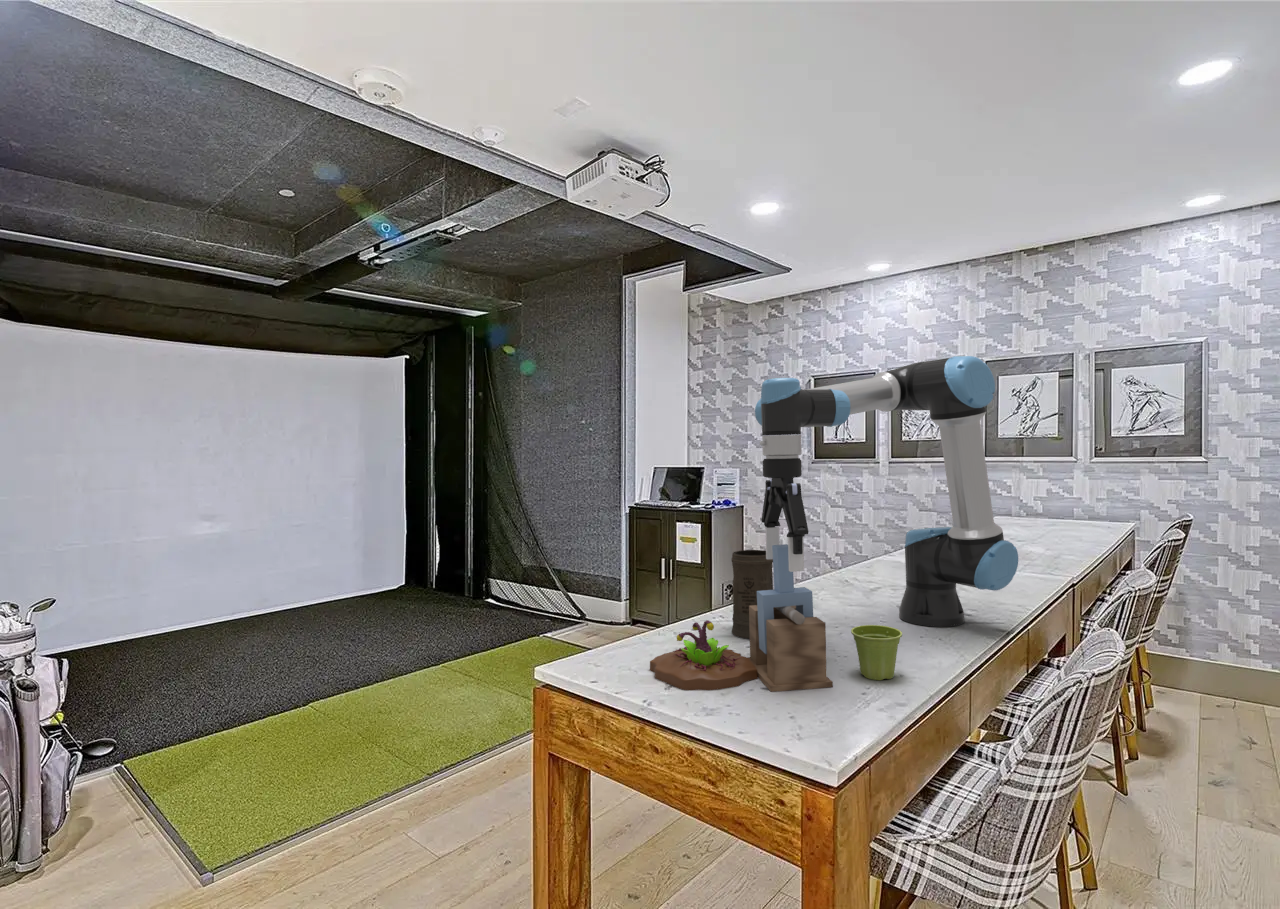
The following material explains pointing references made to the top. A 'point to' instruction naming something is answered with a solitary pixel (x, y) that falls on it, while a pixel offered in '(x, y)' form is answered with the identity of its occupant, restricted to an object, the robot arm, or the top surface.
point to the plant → (703, 664)
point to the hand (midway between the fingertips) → (784, 564)
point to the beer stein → (748, 585)
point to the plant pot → (877, 650)
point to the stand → (790, 650)
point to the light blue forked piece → (781, 594)
